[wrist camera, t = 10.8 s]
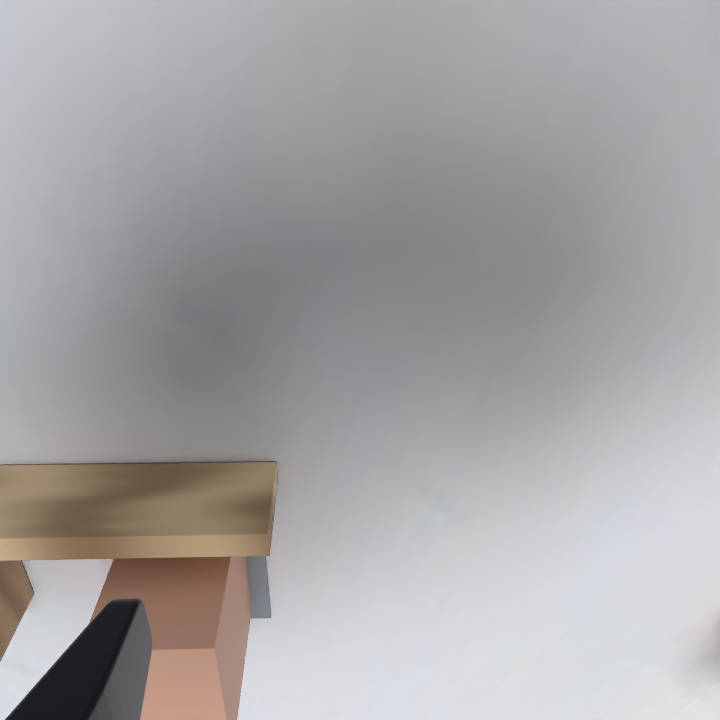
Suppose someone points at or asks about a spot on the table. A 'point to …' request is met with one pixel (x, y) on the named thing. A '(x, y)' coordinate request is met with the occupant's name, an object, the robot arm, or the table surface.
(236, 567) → the terracotta block
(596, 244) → the table surface
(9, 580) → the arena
